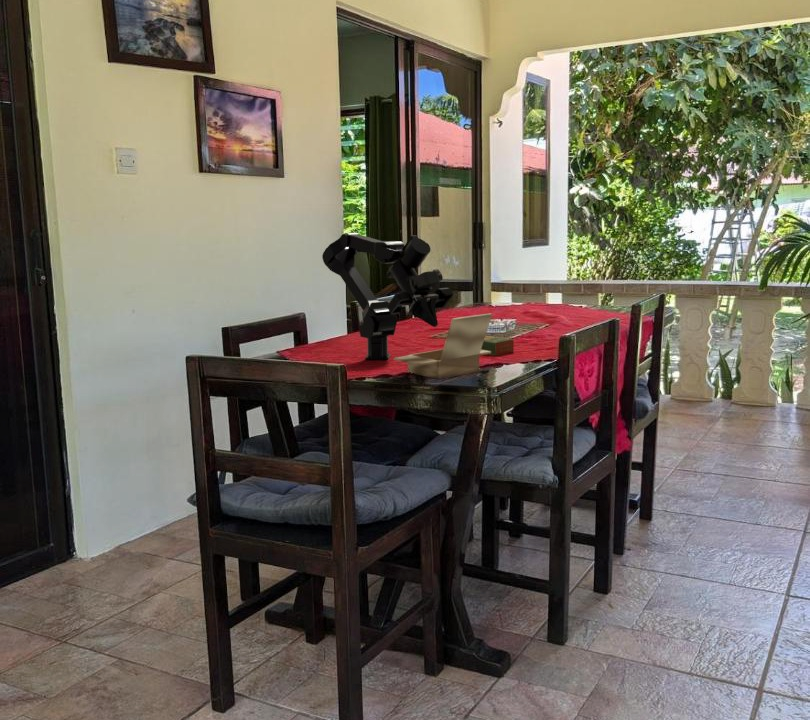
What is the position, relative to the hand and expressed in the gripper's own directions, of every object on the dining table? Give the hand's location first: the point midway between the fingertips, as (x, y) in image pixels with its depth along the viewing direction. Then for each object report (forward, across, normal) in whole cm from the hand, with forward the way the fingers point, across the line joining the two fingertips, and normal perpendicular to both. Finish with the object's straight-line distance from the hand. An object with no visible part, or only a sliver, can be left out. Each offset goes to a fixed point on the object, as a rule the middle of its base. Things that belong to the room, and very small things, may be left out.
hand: (436, 325), depth 217 cm
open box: (+10, 0, +6) cm, 12 cm away
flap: (+9, 0, -7) cm, 11 cm away
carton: (0, +30, +17) cm, 34 cm away
